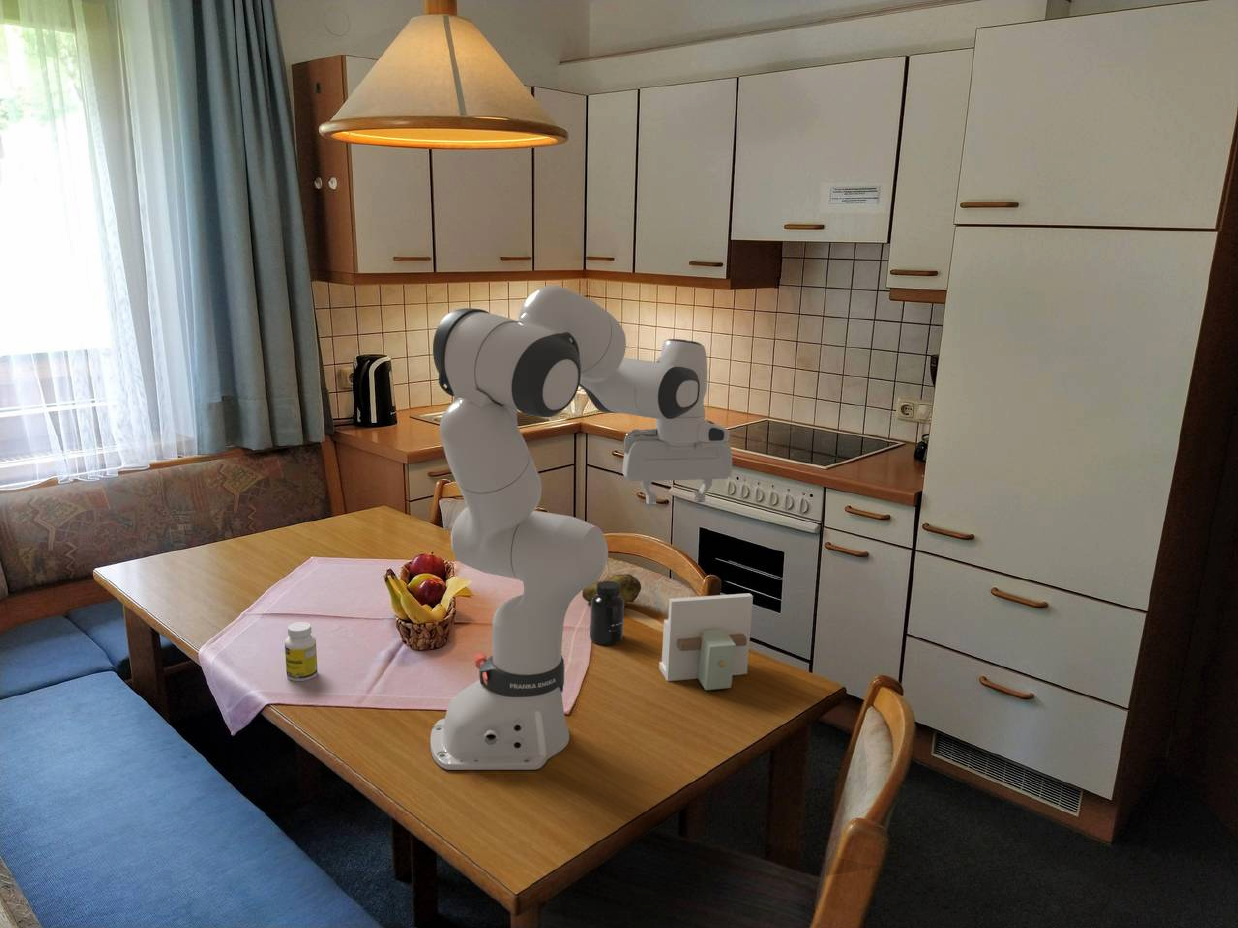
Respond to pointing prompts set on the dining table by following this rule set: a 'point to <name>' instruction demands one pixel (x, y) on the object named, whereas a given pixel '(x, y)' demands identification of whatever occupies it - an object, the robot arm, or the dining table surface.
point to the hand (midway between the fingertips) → (675, 502)
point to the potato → (627, 588)
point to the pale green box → (716, 660)
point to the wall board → (701, 616)
